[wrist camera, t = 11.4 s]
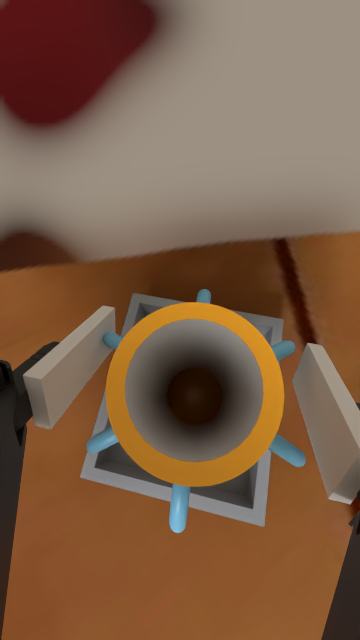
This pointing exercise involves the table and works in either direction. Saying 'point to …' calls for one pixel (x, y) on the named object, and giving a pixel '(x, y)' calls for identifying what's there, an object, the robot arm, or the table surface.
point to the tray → (123, 472)
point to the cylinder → (195, 398)
